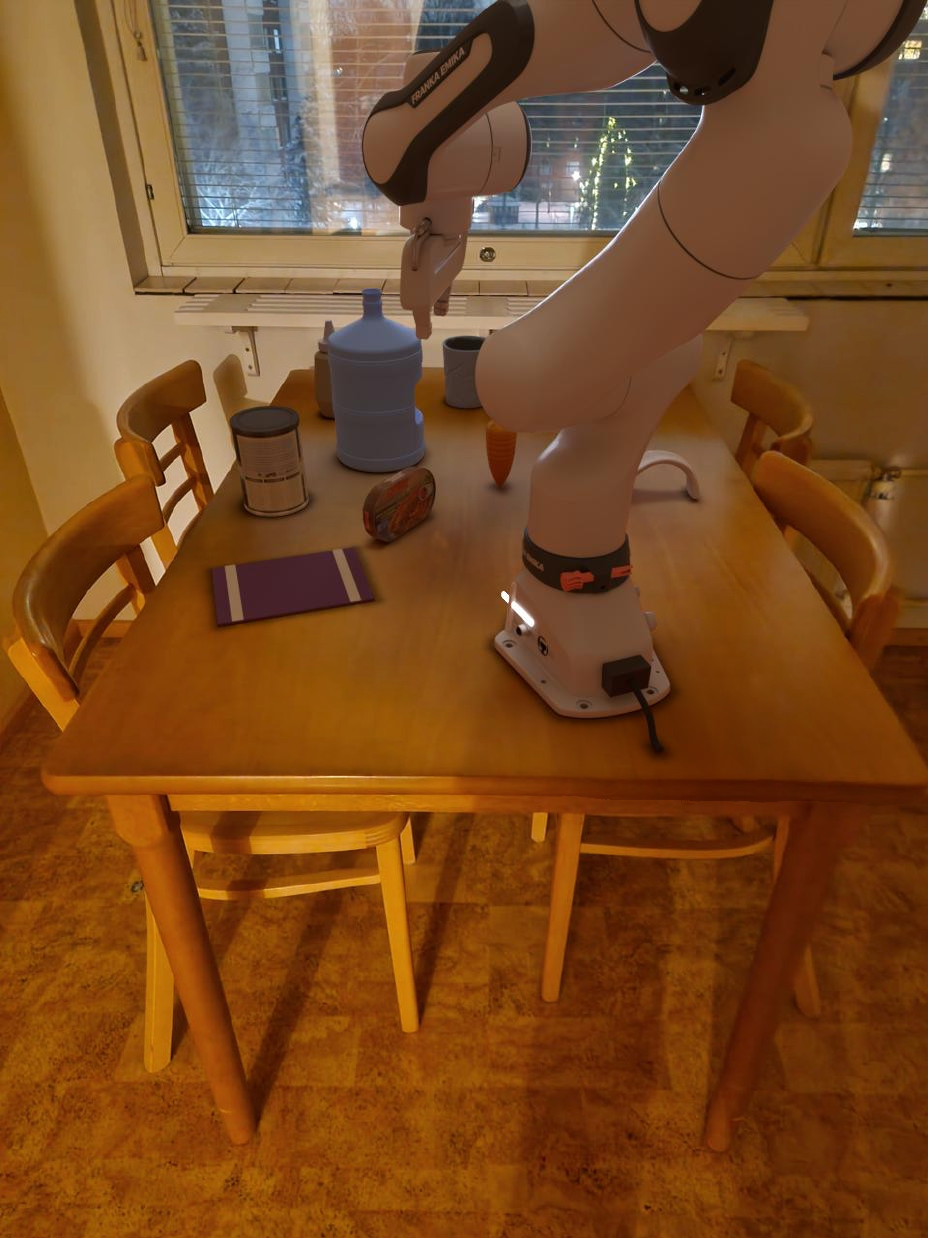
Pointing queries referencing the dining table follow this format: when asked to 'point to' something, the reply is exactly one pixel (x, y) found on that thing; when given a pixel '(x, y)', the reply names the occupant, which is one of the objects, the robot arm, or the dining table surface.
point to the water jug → (376, 391)
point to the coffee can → (270, 460)
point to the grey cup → (461, 370)
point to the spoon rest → (671, 458)
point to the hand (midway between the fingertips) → (432, 325)
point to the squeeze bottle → (324, 373)
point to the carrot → (500, 451)
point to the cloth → (289, 586)
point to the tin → (399, 503)
